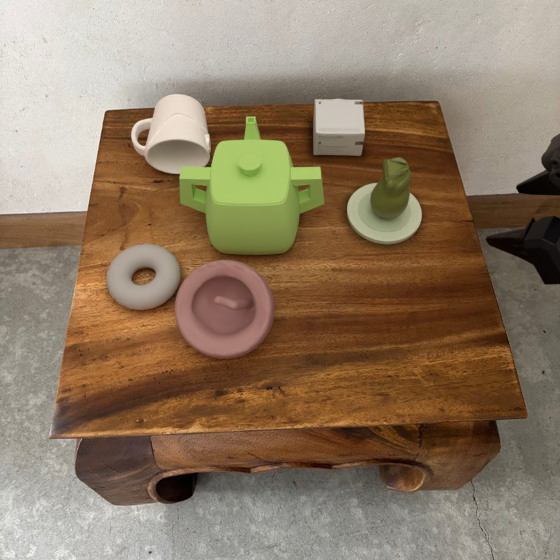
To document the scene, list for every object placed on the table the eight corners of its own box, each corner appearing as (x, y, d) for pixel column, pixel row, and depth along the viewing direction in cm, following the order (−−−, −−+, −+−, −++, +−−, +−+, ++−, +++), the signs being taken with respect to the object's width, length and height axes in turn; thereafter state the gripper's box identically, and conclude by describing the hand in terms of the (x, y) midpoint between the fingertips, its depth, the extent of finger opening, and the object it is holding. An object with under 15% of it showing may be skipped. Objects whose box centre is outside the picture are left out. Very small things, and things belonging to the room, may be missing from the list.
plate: (422, 191, 84) (424, 187, 83) (418, 249, 78) (419, 246, 77) (351, 181, 85) (351, 177, 84) (341, 238, 79) (342, 234, 79)
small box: (312, 156, 88) (314, 132, 83) (312, 122, 92) (314, 97, 87) (361, 157, 87) (366, 133, 83) (359, 122, 92) (363, 98, 87)
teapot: (193, 164, 87) (179, 99, 76) (319, 164, 87) (324, 98, 76) (181, 262, 77) (164, 203, 66) (323, 262, 77) (330, 203, 66)
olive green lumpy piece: (406, 225, 79) (421, 178, 71) (370, 226, 79) (381, 180, 71) (400, 195, 82) (414, 147, 74) (365, 196, 82) (375, 148, 74)
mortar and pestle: (172, 365, 69) (154, 325, 59) (196, 285, 75) (183, 236, 66) (266, 380, 68) (263, 342, 58) (282, 298, 74) (282, 250, 64)
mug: (212, 131, 91) (207, 92, 84) (212, 173, 86) (206, 136, 79) (139, 134, 90) (128, 95, 84) (135, 177, 86) (123, 140, 79)
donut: (190, 302, 74) (173, 244, 79) (186, 290, 71) (169, 230, 76) (116, 324, 72) (104, 263, 77) (109, 312, 70) (97, 249, 74)
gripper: (653, 66, 52) (503, 111, 65) (591, 191, 44) (435, 215, 57) (687, 158, 57) (541, 184, 70) (637, 286, 49) (482, 289, 62)
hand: (502, 214), depth 64 cm, fingers open, 9 cm apart
